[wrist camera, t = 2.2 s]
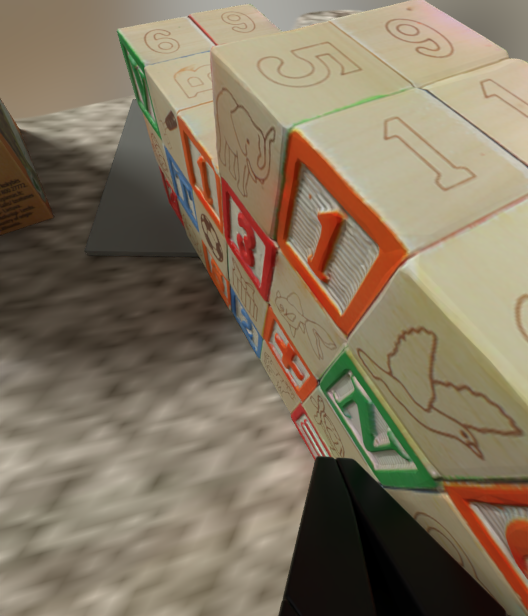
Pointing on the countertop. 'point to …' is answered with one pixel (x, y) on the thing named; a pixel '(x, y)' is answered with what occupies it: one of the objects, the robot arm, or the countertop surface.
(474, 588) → the robot arm
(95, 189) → the countertop surface
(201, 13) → the stack of blocks
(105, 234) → the mat
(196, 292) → the countertop surface
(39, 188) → the milk carton
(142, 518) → the countertop surface
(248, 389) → the countertop surface
